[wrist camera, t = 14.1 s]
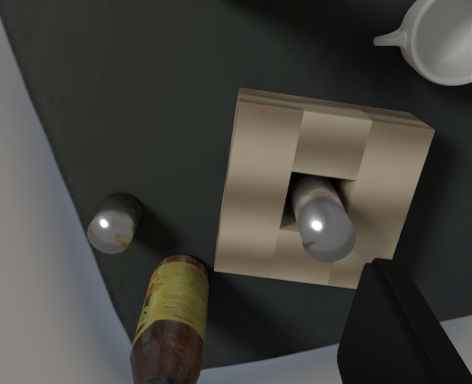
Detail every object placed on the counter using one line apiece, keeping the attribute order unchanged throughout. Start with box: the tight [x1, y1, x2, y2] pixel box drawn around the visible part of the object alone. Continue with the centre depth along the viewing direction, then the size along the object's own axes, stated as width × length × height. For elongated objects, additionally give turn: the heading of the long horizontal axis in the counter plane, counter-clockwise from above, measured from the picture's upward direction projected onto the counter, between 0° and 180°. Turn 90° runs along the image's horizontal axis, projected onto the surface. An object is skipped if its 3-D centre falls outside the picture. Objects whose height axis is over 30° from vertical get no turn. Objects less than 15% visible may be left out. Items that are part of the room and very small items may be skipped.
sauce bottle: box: [130, 254, 209, 384], centre depth 40 cm, size 6×6×20 cm
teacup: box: [373, 0, 472, 86], centre depth 36 cm, size 10×8×5 cm
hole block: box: [214, 88, 435, 289], centre depth 41 cm, size 16×16×6 cm
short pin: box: [87, 192, 142, 254], centre depth 43 cm, size 4×4×5 cm
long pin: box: [288, 171, 356, 263], centre depth 39 cm, size 4×4×12 cm
